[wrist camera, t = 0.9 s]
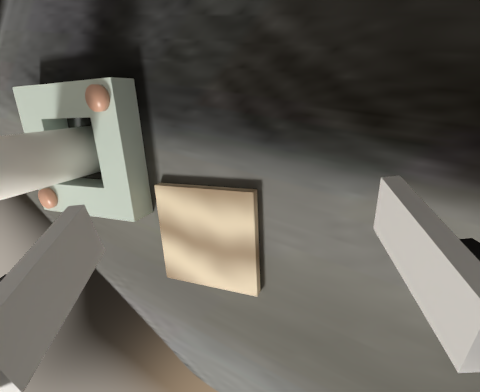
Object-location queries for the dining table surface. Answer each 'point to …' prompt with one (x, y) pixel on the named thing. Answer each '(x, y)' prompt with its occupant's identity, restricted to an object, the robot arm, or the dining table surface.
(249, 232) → the board
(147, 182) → the frame
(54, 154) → the cylinder
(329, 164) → the dining table surface
